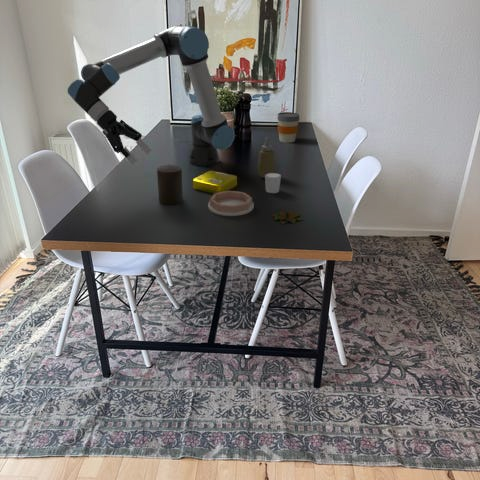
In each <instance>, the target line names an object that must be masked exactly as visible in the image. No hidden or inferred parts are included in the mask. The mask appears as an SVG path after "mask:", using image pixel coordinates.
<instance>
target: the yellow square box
mask: <svg viewBox="0 0 480 480" xmlns="http://www.w3.org/2000/svg"><path fill="white" fill-rule="evenodd" d="M237 185H238V177H237V175H234V174H228V173H225V172H220V171H214V170H209V171H206V172H205V173H203V174H200V175H198V176H197V177H194V178H193V180H192V188H193V189H194V190H197V191H202V192H205V193H210V194H212V195H214V194H215V193H219V192H224V191H231V190H232V189H233V188H235V187H237Z"/></svg>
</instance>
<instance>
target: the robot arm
mask: <svg viewBox="0 0 480 480" xmlns="http://www.w3.org/2000/svg"><path fill="white" fill-rule="evenodd" d="M152 37H153V38H151V39H149V40H147V41H144V42H142V43H140V44H137V45H135V46H132V47H130V48H127V49H125V50H123V51H121V52H120V51H119V53H115V54H113V55H111V56H109V57H106V58H104V59H101V60H100V61H98V62H95V63H93V64H92V63H89V64H87V63H86V64H85V65H84V66H82V67H81V71H80V76H81V78H82V79H81V78H76V80H74V81H73V82H71V84H70V85H69V86H68V88H67V94H68V95H69V96H70V97H71V98H72V100H73V101H74V102H75V103H76V104H77V105H78V106H79V107H80V108H81V109H82V110H83V111H84V113H86V114H87V115H88V116H89V117H90V119H92V120H93V121H94V122H96V125H98V127H100V128H101V130H102V131H101V133H102V134H103V135H104V136H105V138H106V139H107V142H109V144H110V146H111V148H112V150H113V152H115V153H116V154H119V153H120V154H121V155H123V156H124V158H125V159H127V160H128V162H130V163H131V165H135V164H136V162H137V161H138V160H139V159H138V158H137V157H136V156H135V155H134V154H133V153H132V152H131V151H130V150H129V149H128V148H127V147H126V146H125V147H124V145H123V141H122V138H121V136H125V137H127V138H129V139H131V140H133V141H135V143H136V144H137V145H138V147H140V149H141V150H143V152H145V154H146V155H149V154H150V153H151V152H152V151H153V149H152V148H151V147H150V146H149V145H148V144H147V142H145V141H144V140H143V138H142V137H143V135H142V133H141V132H140V131H138V130H136V129H135V128H133V127H132V126H130V125H129V124H127V123H126V122H125V121H124V120H123V119H120V121H118V120H117V118H118V116H117V115H116V114H115V113H114V112H113V111H112V110H111V109H110V107H109V106H108V105H107V104H106V103H105V102H104V101H102V99H101V98H100V97H101V96H103V95H104V94H105V93H106V92H107V91H108V90H110V89H111V88H112V87H113V86H114V85H116V83H118V81H120V78H121V77H120V76H121V75H122V74H123V73H126V72H128V71H132V70H133V69H136V68H138V67H140V66H142V65H144V64H147V63H149V62H151V61H155V60H156V59H158V58H164V59H165V58H167V57H169V56H179V60H180V63H181V65H182V67H184V68H186V70H187V73H188V75H189V79H190V83H191V85H192V89H193V91H194V94H195V97H196V100H197V104H198V106H199V111H200V113H201V114H197V115H194V116H192V117H191V122H190V125H191V142H192V143H191V145H192V146H191V150H190V153H189V154H190V155H189V157H188V159H189V161H188V162H189V163H190V164H191V165H194V166H200V167H210V166H214V165H217V164H218V163H220V154H219V152H218V151H219V150H226V149H228V148H229V147H231V146H232V144H233V143H234V141H235V136H236V135H235V130H234V128H233V127H232V126H231V125H229V122H228V120H227V116H226V115H225V114H223V113H222V112H221V107H220V103H219V102H218V98H217V95H216V91H215V87H214V84H213V81H212V78H211V74H210V71H209V68H208V63H207V61H208V59H209V55H208V51H209V48H210V42H209V38H208V36H207V34H206V33H205V31H203V30H202V29H201V28H199V27H196V26H192V25H188V26H187V25H178V24H177V25H175V26H174V25H173V26H171V27H168V28H167V29H165V30H163V31H161V32H158V33H156V34H154V35H153V36H152Z"/></svg>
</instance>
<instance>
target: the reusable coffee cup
mask: <svg viewBox="0 0 480 480" xmlns="http://www.w3.org/2000/svg"><path fill="white" fill-rule="evenodd" d="M299 121H300V113H296V112H291V111H290V112H287V111H286V112H285V111H284V112H279V113H277V132H278V137H279V141H280V142H281V143H287V144H289V143H294V142H295V141H296V137H297V134H298V129H299V125H300V124H299Z"/></svg>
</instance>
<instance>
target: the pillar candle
mask: <svg viewBox="0 0 480 480" xmlns="http://www.w3.org/2000/svg"><path fill="white" fill-rule="evenodd" d="M156 173H157V189H158V190H157V191H158V202H159V204H161V205H166V206H167V205H168V206H175V205H178V204H181V203H183V202H184V195H183V193H184V192H183V171H182V166H180V165H177V164H165V165H160V166H158V167H157V168H156Z"/></svg>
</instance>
